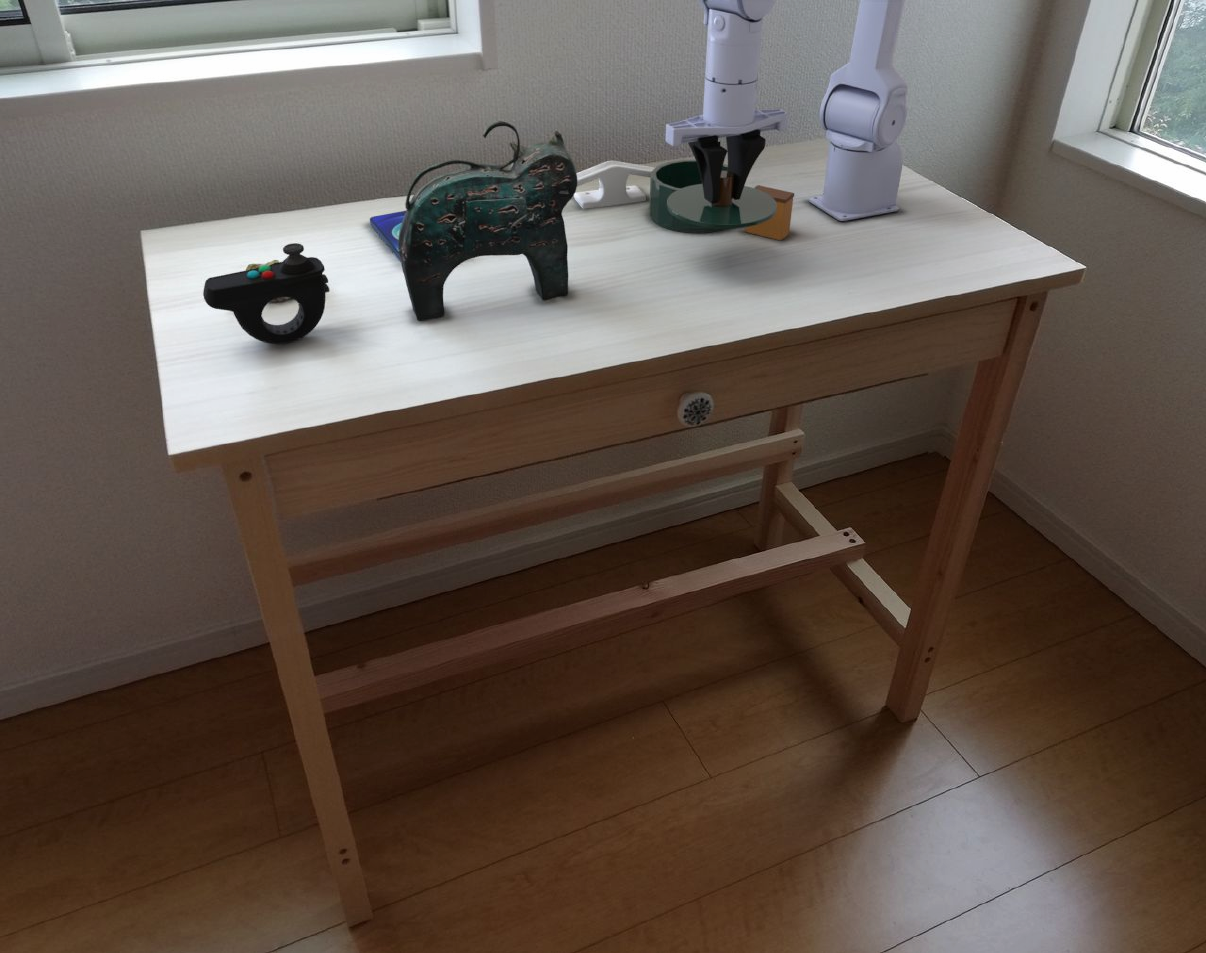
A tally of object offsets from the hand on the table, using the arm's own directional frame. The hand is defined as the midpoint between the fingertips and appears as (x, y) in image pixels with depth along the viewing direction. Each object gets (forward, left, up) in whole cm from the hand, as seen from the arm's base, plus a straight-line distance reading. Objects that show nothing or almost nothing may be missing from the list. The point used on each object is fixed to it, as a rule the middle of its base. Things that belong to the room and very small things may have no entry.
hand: (722, 198), depth 117 cm
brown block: (-11, -6, -8) cm, 15 cm away
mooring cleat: (+4, -24, -8) cm, 26 cm away
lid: (0, 0, -1) cm, 1 cm away
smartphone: (+32, -22, -8) cm, 40 cm away
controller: (+52, -2, -8) cm, 53 cm away
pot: (-5, -15, -8) cm, 18 cm away
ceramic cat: (+28, -1, -8) cm, 29 cm away
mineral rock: (+51, -15, -8) cm, 54 cm away
